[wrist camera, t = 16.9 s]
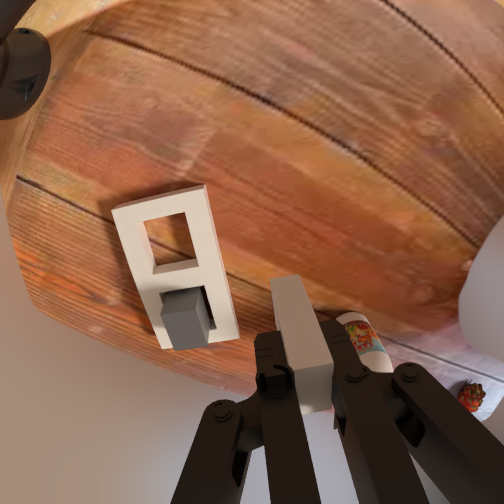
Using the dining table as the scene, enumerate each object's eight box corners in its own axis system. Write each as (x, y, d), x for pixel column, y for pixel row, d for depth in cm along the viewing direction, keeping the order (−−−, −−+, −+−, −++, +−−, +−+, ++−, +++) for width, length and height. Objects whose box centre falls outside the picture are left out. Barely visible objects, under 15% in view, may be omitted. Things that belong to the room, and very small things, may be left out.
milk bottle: (375, 322, 54) (422, 402, 35) (346, 350, 56) (382, 434, 37) (347, 303, 51) (394, 388, 33) (317, 334, 54) (349, 424, 35)
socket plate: (164, 337, 52) (162, 349, 49) (118, 204, 42) (111, 210, 40) (238, 327, 52) (239, 338, 49) (205, 184, 42) (203, 188, 39)
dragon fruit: (463, 373, 66) (463, 388, 72) (451, 401, 63) (452, 413, 69) (489, 380, 59) (487, 395, 65) (478, 409, 56) (476, 421, 62)
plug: (181, 319, 51) (174, 350, 43) (169, 285, 48) (160, 314, 41) (210, 314, 51) (207, 346, 43) (200, 280, 48) (195, 309, 41)
